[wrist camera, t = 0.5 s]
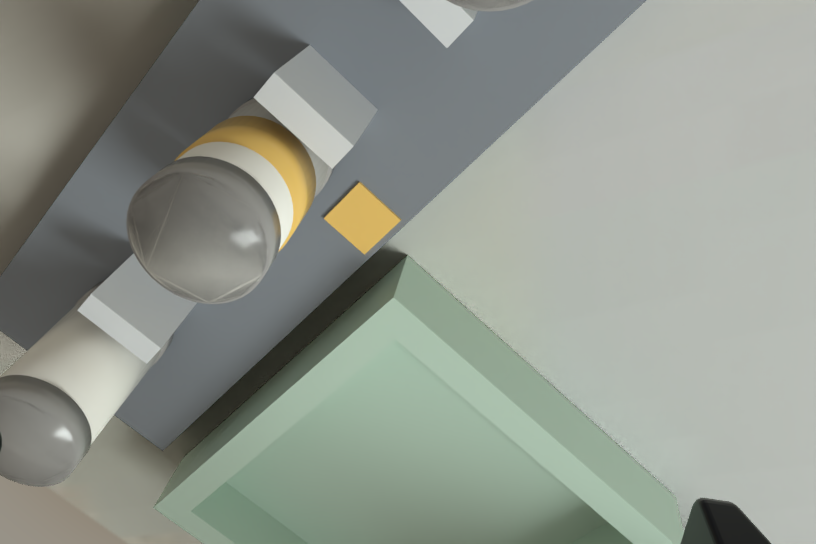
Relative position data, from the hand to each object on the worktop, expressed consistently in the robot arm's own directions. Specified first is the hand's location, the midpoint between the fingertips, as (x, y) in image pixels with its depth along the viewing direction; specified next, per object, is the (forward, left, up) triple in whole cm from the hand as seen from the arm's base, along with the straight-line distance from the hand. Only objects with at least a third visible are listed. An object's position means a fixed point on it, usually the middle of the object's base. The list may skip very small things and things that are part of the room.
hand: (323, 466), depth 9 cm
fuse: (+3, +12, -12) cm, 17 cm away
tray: (-8, +10, -14) cm, 19 cm away
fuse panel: (+3, +3, -14) cm, 14 cm away
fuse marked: (+3, +3, -12) cm, 13 cm away
